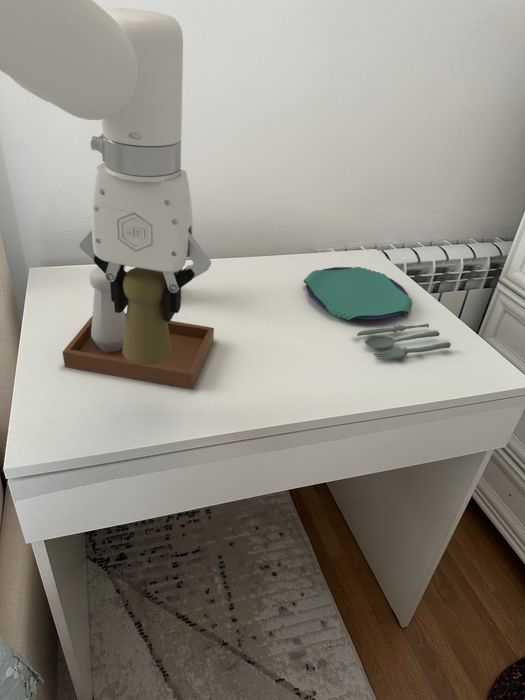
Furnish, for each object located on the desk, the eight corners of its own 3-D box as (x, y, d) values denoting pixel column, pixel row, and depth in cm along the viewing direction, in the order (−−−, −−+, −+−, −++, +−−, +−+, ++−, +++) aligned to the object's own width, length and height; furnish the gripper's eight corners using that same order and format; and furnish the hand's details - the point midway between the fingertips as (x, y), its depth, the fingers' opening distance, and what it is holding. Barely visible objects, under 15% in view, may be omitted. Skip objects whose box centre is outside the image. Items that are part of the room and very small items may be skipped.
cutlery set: (375, 271, 114) (377, 261, 113) (460, 352, 92) (464, 341, 90) (289, 279, 108) (290, 268, 107) (357, 367, 85) (360, 356, 84)
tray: (64, 366, 79) (62, 351, 78) (99, 322, 89) (98, 308, 88) (192, 389, 78) (193, 374, 76) (213, 341, 88) (214, 327, 86)
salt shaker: (125, 331, 87) (120, 258, 79) (135, 351, 83) (130, 276, 75) (88, 338, 84) (79, 263, 77) (96, 358, 80) (87, 282, 73)
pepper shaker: (121, 338, 68) (117, 260, 62) (168, 336, 70) (169, 259, 64) (123, 366, 64) (119, 284, 57) (174, 363, 65) (175, 283, 59)
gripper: (43, 152, 51) (63, 314, 61) (217, 179, 50) (208, 341, 60) (78, 135, 57) (91, 285, 67) (234, 159, 56) (223, 308, 66)
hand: (146, 310), depth 64 cm, fingers closed on pepper shaker, 5 cm apart
